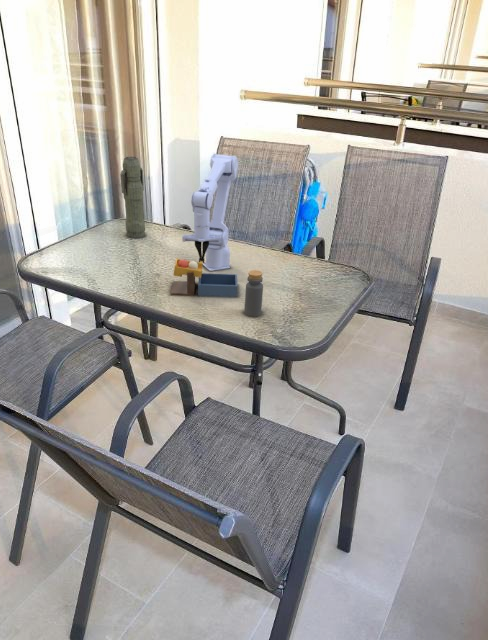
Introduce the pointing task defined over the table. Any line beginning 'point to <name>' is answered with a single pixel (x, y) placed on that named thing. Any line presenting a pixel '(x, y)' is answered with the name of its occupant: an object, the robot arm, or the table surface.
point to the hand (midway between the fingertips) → (201, 259)
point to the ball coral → (183, 264)
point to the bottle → (254, 294)
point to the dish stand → (184, 286)
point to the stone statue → (133, 197)
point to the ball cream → (193, 265)
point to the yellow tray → (183, 271)
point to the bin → (217, 285)
